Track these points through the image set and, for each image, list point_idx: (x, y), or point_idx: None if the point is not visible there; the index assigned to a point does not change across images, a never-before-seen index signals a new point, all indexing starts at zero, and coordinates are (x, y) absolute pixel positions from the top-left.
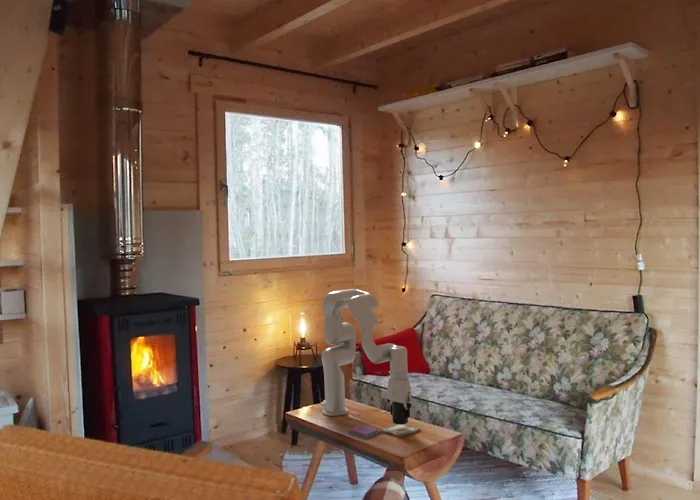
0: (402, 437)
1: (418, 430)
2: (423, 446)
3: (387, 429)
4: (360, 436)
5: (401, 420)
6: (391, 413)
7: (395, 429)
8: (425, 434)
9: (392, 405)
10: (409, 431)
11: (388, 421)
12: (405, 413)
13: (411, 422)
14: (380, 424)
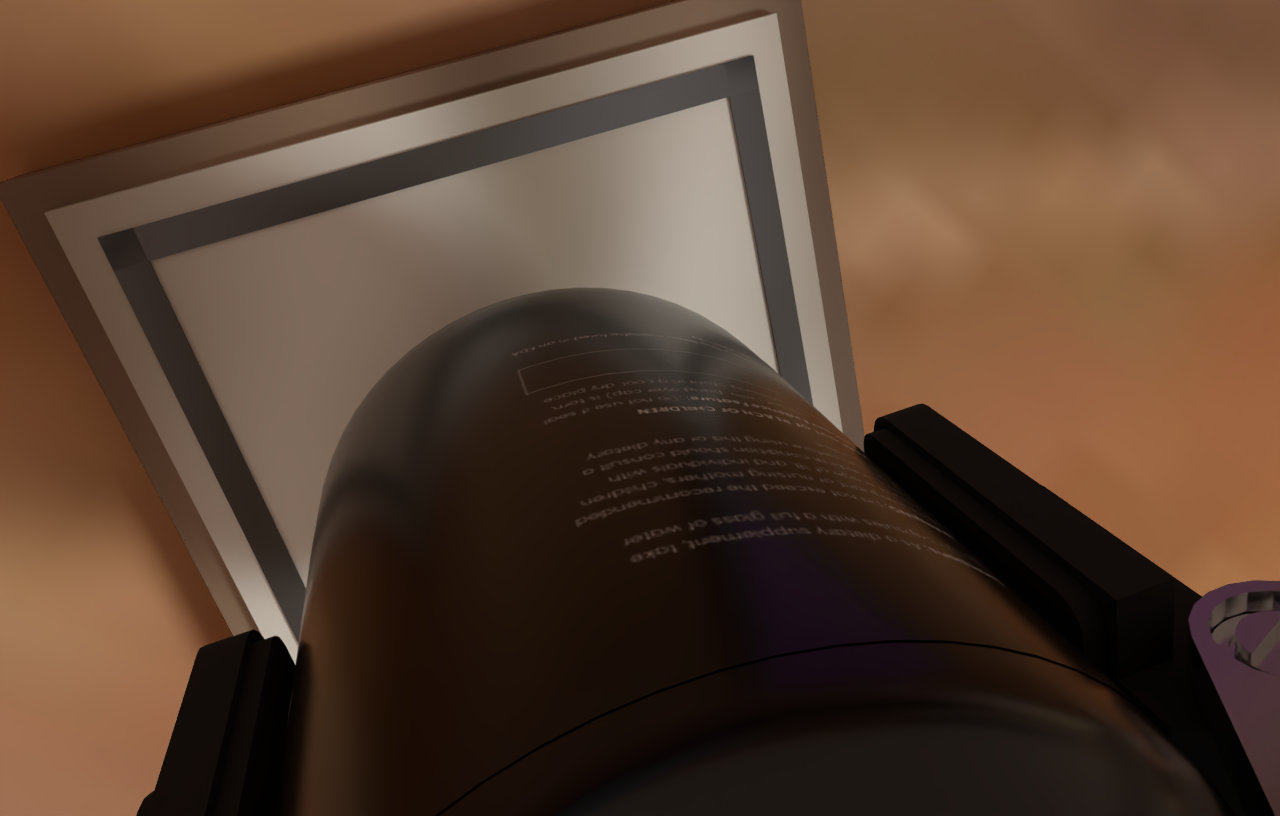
0: (31, 173)
1: None
2: None
3: (714, 133)
4: None
5: (331, 491)
6: (909, 435)
7: None
8: (52, 758)
9: (982, 627)
10: (237, 514)
11: (1147, 507)
12: (172, 812)
13: None
14: (1154, 291)
